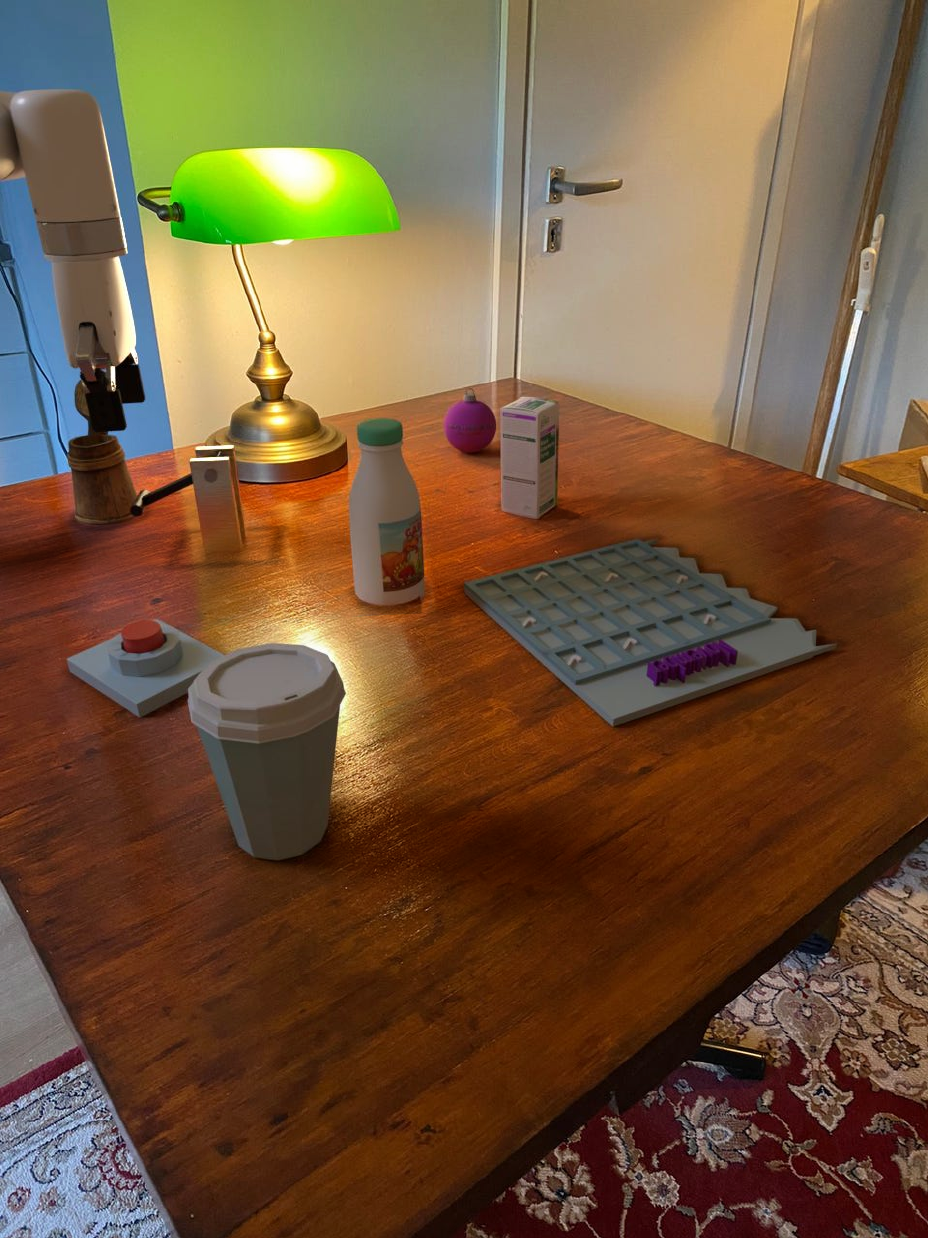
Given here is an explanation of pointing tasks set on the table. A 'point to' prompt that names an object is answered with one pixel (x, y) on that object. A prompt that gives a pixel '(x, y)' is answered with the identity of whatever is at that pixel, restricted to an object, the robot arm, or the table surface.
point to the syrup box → (529, 456)
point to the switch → (162, 492)
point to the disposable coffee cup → (271, 742)
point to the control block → (144, 670)
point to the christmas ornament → (470, 424)
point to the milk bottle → (385, 519)
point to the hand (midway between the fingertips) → (121, 415)
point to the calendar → (640, 627)
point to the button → (142, 636)
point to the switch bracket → (218, 499)
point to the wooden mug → (99, 474)
